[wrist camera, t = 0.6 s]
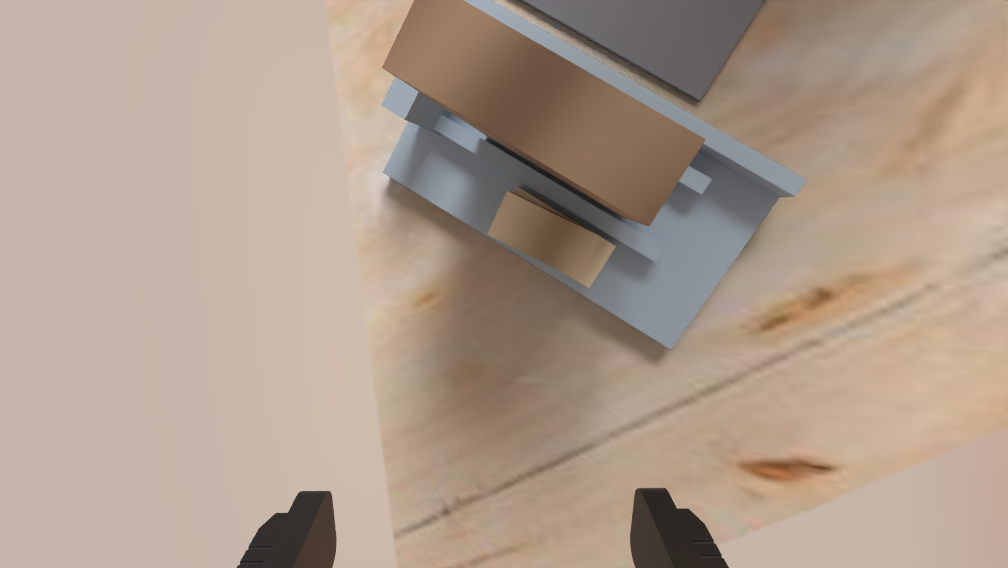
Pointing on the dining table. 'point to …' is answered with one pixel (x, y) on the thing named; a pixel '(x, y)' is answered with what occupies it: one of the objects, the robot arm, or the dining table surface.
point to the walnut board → (543, 107)
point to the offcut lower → (599, 253)
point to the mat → (660, 33)
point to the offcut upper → (543, 235)
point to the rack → (639, 248)
